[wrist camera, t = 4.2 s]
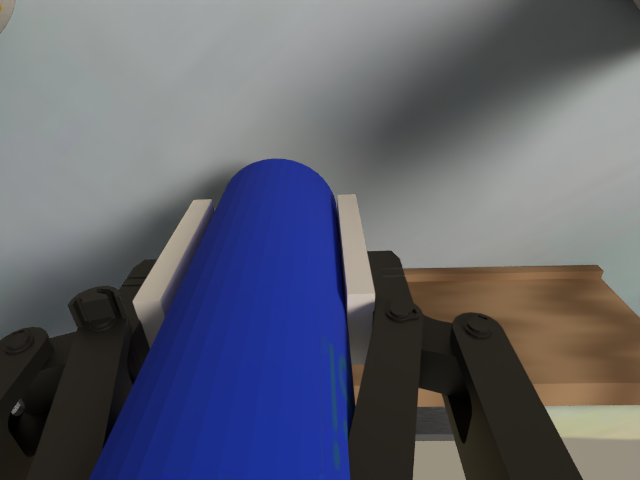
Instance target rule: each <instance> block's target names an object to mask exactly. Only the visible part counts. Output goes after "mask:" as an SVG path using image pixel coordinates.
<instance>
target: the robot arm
mask: <svg viewBox="0 0 640 480" xmlns="http://www.w3.org/2000/svg"><path fill="white" fill-rule="evenodd" d="M213 215H214V209H213V203H212V199H205V200H193V202H192V203H191V205H190V206H189V208H188V210H187V211H186V213H185V215H184V216H183V218H182V220H181V221H180V223H179V225H178V226H177V228H176V230H175V231H174V233H173V235H172V236H171V238H170V240H169V241H168V243H167V245H166V246H165V248H164V250H163V251H162V253H161V255H160V256H159V258H158V259H155V260H144V261H143V262H141V263H140V264H139V265H137V266H136V267H134V268H133V270H132V271H131V273H130V274H129V276H128V277H127V279H126V280H125V282H124V283H123V285H122V287H121V288H120V289H119V291H118V290H117V289H116V288H114V287H109V286H102V287H95V288H92V289H88V290H86V291H84V292H82V293H80V294H78V295H77V296H76V297H74V298H73V299H72V300H71V301H70V303H69V304H68V307H69V309H70V311H71V314H72V316H73V318H74V320H75V323H76V325H77V327H78V329H77V331H76V332H73V333H69V334H65V335H61V336H57V337H53V338H49V336H48V334H47V332H46V331H45V330H44V329H42V328H37V327H31V328H25V329H21V330H19V331H15V332H13V333H11V334H9V335H8V336H6V337H4V338H3V339H1V340H0V480H89V478H90V476H91V474H92V471H93V469H94V467H95V465H96V463H97V461H98V459H99V457H100V454H101V452H102V450H103V448H104V446H105V444H106V442H107V440H108V437H109V435H110V433H111V431H112V429H113V427H114V425H115V423H116V420H117V418H118V416H119V414H120V412H121V410H122V408H123V406H124V403H125V401H126V399H127V397H128V395H129V393H130V391H131V389H132V386H133V384H134V382H135V380H136V378H137V376H138V374H139V372H140V370H141V367H142V365H143V363H144V361H145V359H146V357H147V355H148V353H149V350H150V348H151V346H152V344H153V342H154V340H155V338H156V336H157V333H158V331H159V329H160V327H161V325H162V323H163V321H164V319H165V316H166V314H167V312H168V310H169V308H170V306H171V304H172V302H173V299H174V297H175V295H176V293H177V291H178V289H179V287H180V285H181V282H182V280H183V278H184V276H185V274H186V272H187V270H188V268H189V265H190V263H191V261H192V259H193V257H194V255H195V253H196V251H197V248H198V246H199V244H200V242H201V240H202V238H203V236H204V234H205V231H206V229H207V227H208V225H209V223H210V221H211V219H212V217H213ZM337 219H338V230H339V240H340V251H341V261H342V271H343V282H344V292H345V303H346V313H347V324H348V332H349V343H350V353H351V363H352V364H365V365H364V370H363V375H362V379H361V384H360V389H359V393H358V398H357V403H356V407H355V412H354V417H353V421H352V426H351V431H350V435H349V440H348V454H349V469H350V480H413V479H412V478H413V465H414V451H415V450H414V449H415V435H416V420H417V405H418V390H419V388H421V389H425V390H429V391H433V392H437V393H441V394H442V397H443V401H444V404H445V408H446V411H447V415H448V418H449V422H450V425H451V429H452V432H453V436H454V439H455V443H456V446H457V449H458V453H459V456H460V459H461V463H462V467H463V470H464V473H465V477H466V480H583V479H582V477H581V475H580V473H579V471H578V469H577V467H576V466H575V464H574V462H573V460H572V458H571V456H570V454H569V453H568V450H567V449H566V447H565V445H564V443H563V441H562V439H561V437H560V435H559V433H558V432H557V430H556V428H555V426H554V424H553V422H552V420H551V418H550V416H549V415H548V413H547V411H546V409H545V407H544V405H543V403H542V401H541V399H540V398H539V396H538V394H537V392H536V390H535V388H534V386H533V384H532V382H531V381H530V379H529V377H528V375H527V373H526V371H525V369H524V367H523V365H522V364H521V362H520V360H519V358H518V356H517V354H516V352H515V350H514V348H513V347H512V345H511V343H510V341H509V339H508V337H507V335H506V333H505V331H504V330H503V328H502V327H501V325H500V324H499V323H498V322H497V321H496V320H494V319H493V318H491V317H490V316H487V315H484V314H481V313H474V312H468V313H462V314H460V315H458V316H456V317H455V319H454V321H453V322H452V323H450V322H445V321H440V320H436V319H432V318H430V317H428V316H426V315H424V314H423V313H422V310H421V309H420V308H419V307H418V306H417V305H416V304H414V302H413V299H412V296H411V293H410V290H409V287H408V283H407V280H406V277H405V274H404V271H403V269H402V264H401V261H400V258H399V257H397V256H396V255H395V254H394V253H393V252H392V251H367V250H366V245H365V240H364V234H363V229H362V224H361V219H360V214H359V209H358V204H357V199H356V194H348V195H337ZM17 402H19V404H20V405H21V406H20V407H19V409H18V410H17V411H16V412H15V413H14V414H12V413H11V411H12V409H13V408H14V406H15V405H16V404H17Z"/></svg>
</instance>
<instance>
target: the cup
mask: <svg viewBox="0 0 640 480" xmlns="http://www.w3.org/2000/svg"><path fill="white" fill-rule="evenodd" d="M14 5H15V0H0V33H1V32H2V30H3V29H4V28H5V26H6V25H7V23H8V21H9V19H10V17H11V14H12V12H13V8H14Z"/></svg>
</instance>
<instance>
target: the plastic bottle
mask: <svg viewBox="0 0 640 480" xmlns="http://www.w3.org/2000/svg"><path fill="white" fill-rule="evenodd" d="M633 1H634V2H635V4H636V5H637V7H638V8H639V10H640V0H633Z"/></svg>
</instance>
